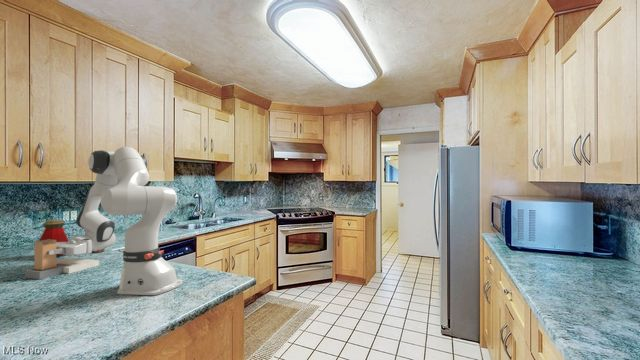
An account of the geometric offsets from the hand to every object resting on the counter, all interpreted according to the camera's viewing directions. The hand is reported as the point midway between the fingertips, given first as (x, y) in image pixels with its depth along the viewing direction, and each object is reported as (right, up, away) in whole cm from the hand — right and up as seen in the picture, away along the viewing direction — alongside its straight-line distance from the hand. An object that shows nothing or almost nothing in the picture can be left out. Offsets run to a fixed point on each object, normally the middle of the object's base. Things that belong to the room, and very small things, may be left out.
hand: (43, 252), depth 120 cm
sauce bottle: (-9, -11, +42) cm, 44 cm away
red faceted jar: (-27, -11, +32) cm, 43 cm away
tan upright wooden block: (0, -7, +1) cm, 7 cm away
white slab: (0, -10, +7) cm, 12 cm away
